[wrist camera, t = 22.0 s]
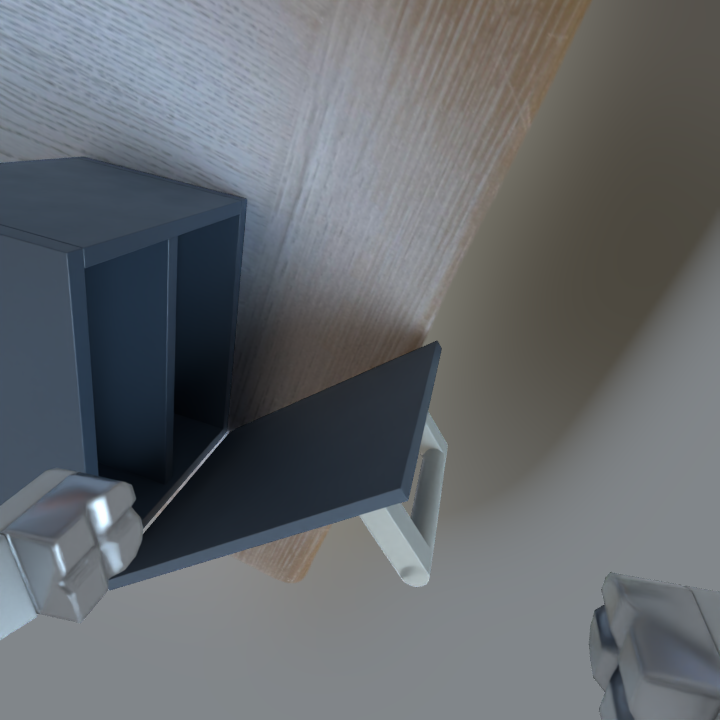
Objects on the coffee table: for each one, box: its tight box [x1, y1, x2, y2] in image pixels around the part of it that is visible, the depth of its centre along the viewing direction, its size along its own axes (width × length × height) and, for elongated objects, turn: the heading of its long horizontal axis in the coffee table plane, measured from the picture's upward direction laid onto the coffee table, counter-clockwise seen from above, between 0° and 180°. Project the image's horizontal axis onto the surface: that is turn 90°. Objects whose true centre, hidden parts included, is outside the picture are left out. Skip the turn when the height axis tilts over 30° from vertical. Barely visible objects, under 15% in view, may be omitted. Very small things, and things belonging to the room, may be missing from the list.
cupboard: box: [0, 157, 247, 528], centre depth 35 cm, size 14×22×18 cm, turn 169°
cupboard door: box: [108, 341, 447, 590], centre depth 36 cm, size 7×22×18 cm, turn 121°
